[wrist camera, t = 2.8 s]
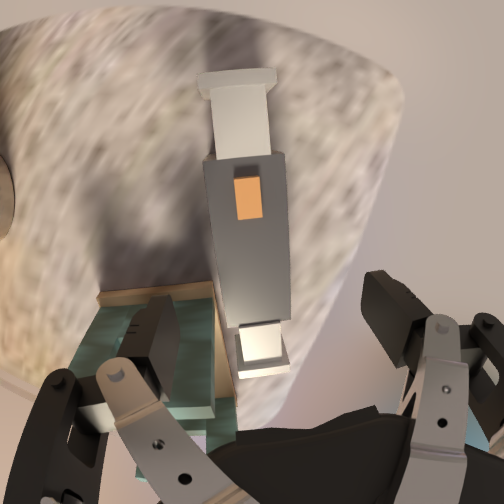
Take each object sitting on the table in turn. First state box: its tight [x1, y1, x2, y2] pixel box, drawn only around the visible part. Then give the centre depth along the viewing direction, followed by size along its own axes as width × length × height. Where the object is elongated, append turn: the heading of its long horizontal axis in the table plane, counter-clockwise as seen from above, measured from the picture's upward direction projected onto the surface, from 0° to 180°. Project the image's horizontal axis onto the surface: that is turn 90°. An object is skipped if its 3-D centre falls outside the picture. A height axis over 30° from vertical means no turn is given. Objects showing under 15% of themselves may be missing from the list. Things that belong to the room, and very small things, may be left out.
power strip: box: [197, 68, 291, 379], centre depth 17 cm, size 4×19×6 cm, turn 5°
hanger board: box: [68, 281, 238, 482], centre depth 19 cm, size 10×16×11 cm, turn 5°
